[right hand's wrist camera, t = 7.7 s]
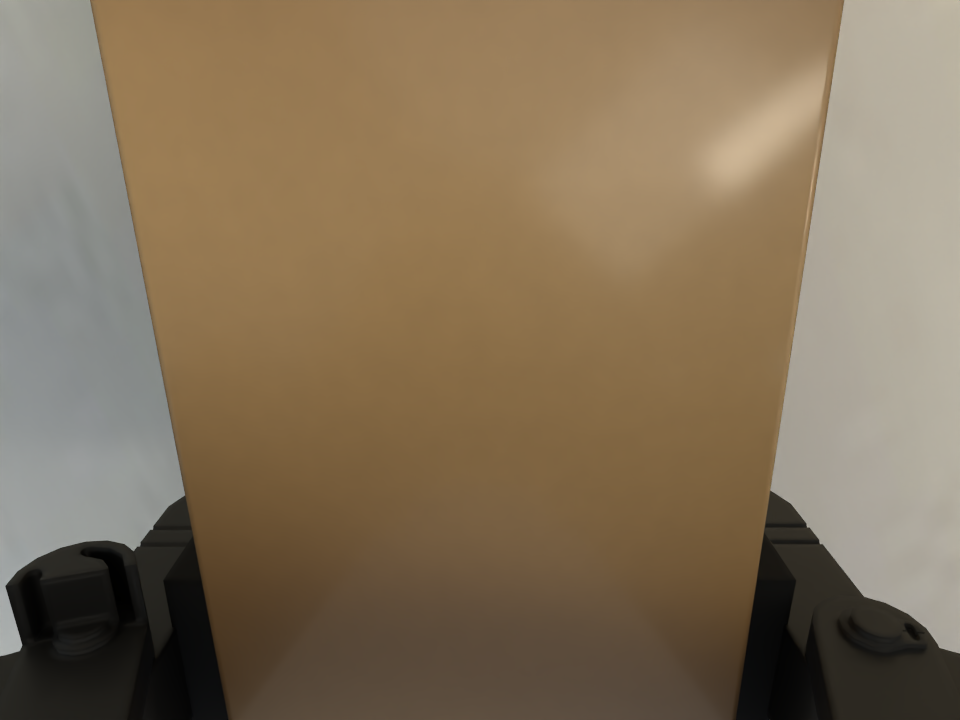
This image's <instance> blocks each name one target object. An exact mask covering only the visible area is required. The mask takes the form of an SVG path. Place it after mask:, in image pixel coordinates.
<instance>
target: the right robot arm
mask: <svg viewBox="0 0 960 720" xmlns="http://www.w3.org/2000/svg"><path fill="white" fill-rule="evenodd" d="M6 590H7V593H8V597H9V600H10V604H11V607H12V610H13V614H14V617H15V621H16V624H17V628H18V631H19V635H20V638H21V642H22V648H21V650H20V651H19V652H15V653H12V654H8V655H5V656H0V720H228V714H227V709H226V704H225V699H224V694H223V688H222V683H221V678H220V673H219V668H218V662H217V657H216V652H215V647H214V642H213V636H212V631H211V626H210V621H209V616H208V610H207V605H206V600H205V595H204V590H203V584H202V579H201V574H200V569H199V564H198V558H197V553H196V548H195V543H194V538H193V532H192V527H191V522H190V517H189V512H188V506H187V501H186V496H184V497H182V498H181V499H179V500H178V501H176V502H175V503H173V504H172V505H170V506H169V507H168V508H167V509H166V511H165V512H164V513H163V514H162V516H161V517H160V518H159V520H158V521H157V522H156V523H155V525H154V526H153V530H150V531H149V532H148V534H147V535H146V536H145V538H144V539H143V540H142V541H141V545H140V547H137V548H136V549H135V550H134V551H132V550H131V549H130V548H129V547H127V546H126V545H125V544H121V543H116V542H112V541H91V542H83V543H78V544H74V545H70V546H66V547H62V548H59V549H57V550H55V551H52V552H50V553H48V554H46V555H43V556H41V557H39V558H37V559H35V560H34V561H32V562H31V563H29V564H28V565H26V566H25V567H23V568H22V569H21V570H19V571H18V572H17V573H16V574H15V575H14V576H13V578H12V579H11V580H10V581H9V582H8V584H7V585H6ZM769 719H770V720H960V653H955V652H951V651H948V650H944V649H941V648H939V646H938V644H937V643H936V642H935V640H934V639H933V637H932V636H931V635H930V633H929V632H928V630H927V629H926V628H925V627H924V626H922V625H921V624H920V623H918V622H917V621H916V620H915V619H913V618H912V617H911V616H910V615H908V614H906V613H904V612H902V611H900V610H898V609H896V608H894V607H892V606H890V605H888V604H886V603H883V602H880V601H876V600H873V599H869V598H866V597H864V596H863V595H862V594H861V593H860V591H859V590H858V589H857V587H856V586H855V585H854V584H853V582H852V581H851V580H850V579H849V577H848V576H847V575H846V573H845V572H844V571H843V570H842V568H841V567H840V566H839V565H838V563H837V562H836V561H835V559H834V558H833V557H832V556H831V554H830V553H829V552H828V551H827V549H826V548H825V547H824V545H823V544H819V539H818V538H817V537H816V535H815V534H814V533H813V531H812V530H811V529H810V528H807V526H806V523H805V521H804V520H803V519H802V517H801V516H800V515H799V514H798V512H797V511H796V510H795V509H794V507H793V506H792V505H791V504H790V503H789V502H787V501H785V500H784V499H782V498H781V497H779V496H778V495H776V494H775V493H773V492H772V491H770V495H769V501H768V508H767V515H766V521H765V528H764V534H763V541H762V548H761V554H760V561H759V568H758V574H757V581H756V588H755V594H754V601H753V607H752V614H751V621H750V627H749V634H748V641H747V647H746V654H745V660H744V667H743V674H742V680H741V687H740V694H739V700H738V707H737V714H736V720H769Z"/></svg>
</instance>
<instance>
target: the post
mask: <svg viewBox="0 0 960 720" xmlns="http://www.w3.org/2000/svg"><path fill="white" fill-rule="evenodd" d="M90 2H91V7H92V12H93V17H94V23H95V28H96V33H97V38H98V43H99V49H100V54H101V59H102V64H103V69H104V75H105V80H106V85H107V90H108V95H109V101H110V106H111V111H112V116H113V121H114V127H115V132H116V137H117V142H118V147H119V153H120V158H121V163H122V168H123V173H124V179H125V184H126V189H127V194H128V199H129V205H130V210H131V215H132V220H133V225H134V231H135V236H136V241H137V246H138V251H139V257H140V262H141V267H142V272H143V277H144V283H145V288H146V293H147V298H148V303H149V309H150V314H151V319H152V324H153V329H154V335H155V340H156V345H157V350H158V355H159V361H160V366H161V371H162V376H163V381H164V387H165V392H166V397H167V402H168V407H169V413H170V418H171V423H172V428H173V434H174V439H175V444H176V449H177V454H178V460H179V465H180V470H181V475H182V480H183V486H184V491H185V496H186V501H187V506H188V512H189V517H190V522H191V527H192V532H193V538H194V543H195V548H196V553H197V558H198V564H199V569H200V574H201V579H202V584H203V590H204V595H205V600H206V605H207V610H208V616H209V621H210V626H211V631H212V636H213V642H214V647H215V652H216V657H217V662H218V668H219V673H220V678H221V683H222V688H223V694H224V699H225V704H226V709H227V714H228V720H736V714H737V707H738V700H739V694H740V687H741V680H742V674H743V667H744V660H745V654H746V647H747V641H748V634H749V627H750V621H751V614H752V607H753V601H754V594H755V588H756V581H757V574H758V568H759V561H760V554H761V548H762V541H763V534H764V528H765V521H766V515H767V508H768V501H769V495H770V488H771V481H772V475H773V468H774V462H775V455H776V448H777V442H778V435H779V428H780V422H781V415H782V408H783V402H784V395H785V389H786V382H787V375H788V369H789V362H790V355H791V349H792V342H793V336H794V329H795V322H796V316H797V309H798V302H799V296H800V289H801V282H802V276H803V269H804V263H805V256H806V249H807V243H808V236H809V229H810V223H811V216H812V210H813V203H814V196H815V190H816V183H817V176H818V170H819V163H820V156H821V150H822V143H823V137H824V130H825V123H826V117H827V110H828V103H829V97H830V90H831V84H832V77H833V70H834V64H835V57H836V50H837V44H838V37H839V30H840V24H841V17H842V11H843V4H844V0H90Z"/></svg>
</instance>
